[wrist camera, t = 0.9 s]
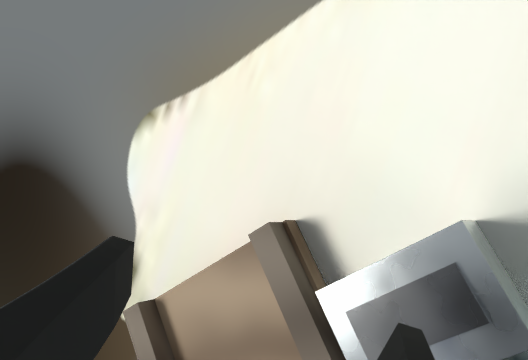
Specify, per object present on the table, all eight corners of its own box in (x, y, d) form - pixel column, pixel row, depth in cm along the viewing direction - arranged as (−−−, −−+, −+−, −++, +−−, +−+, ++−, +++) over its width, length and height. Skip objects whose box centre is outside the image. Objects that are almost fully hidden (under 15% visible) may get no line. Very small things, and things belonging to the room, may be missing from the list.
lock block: (536, 320, 20) (538, 348, 16) (397, 371, 23) (365, 407, 18) (475, 220, 22) (461, 220, 17) (353, 279, 24) (313, 292, 20)
